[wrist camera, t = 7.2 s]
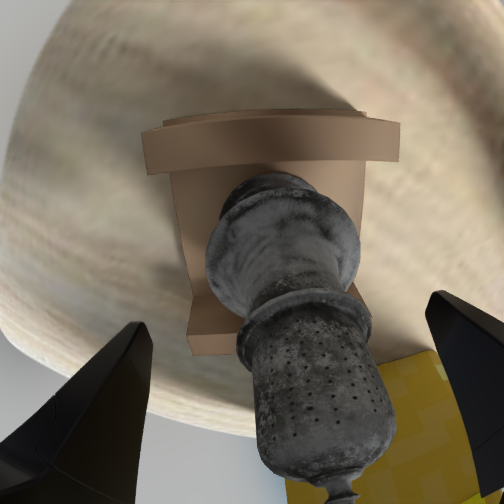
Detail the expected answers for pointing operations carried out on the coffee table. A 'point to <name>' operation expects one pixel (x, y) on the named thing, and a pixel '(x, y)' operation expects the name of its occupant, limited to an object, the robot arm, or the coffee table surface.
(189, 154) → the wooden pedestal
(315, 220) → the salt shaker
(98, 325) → the coffee table surface
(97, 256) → the coffee table surface
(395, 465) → the book
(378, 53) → the coffee table surface
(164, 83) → the coffee table surface
